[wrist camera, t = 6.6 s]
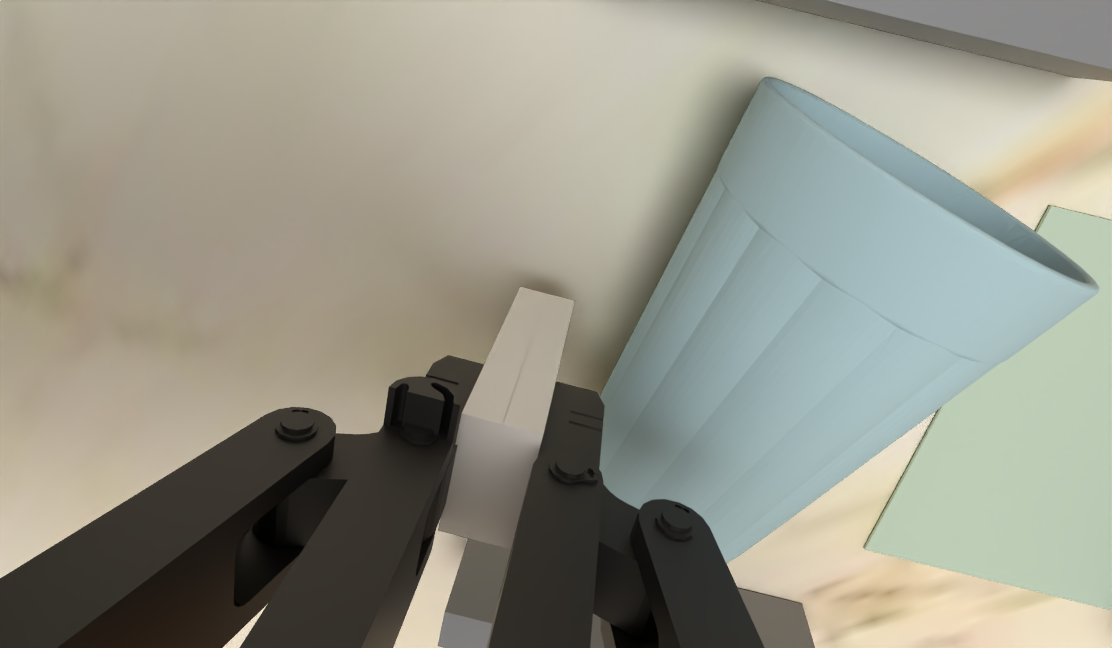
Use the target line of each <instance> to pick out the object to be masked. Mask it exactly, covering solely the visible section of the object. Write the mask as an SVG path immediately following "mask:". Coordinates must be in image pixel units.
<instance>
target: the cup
mask: <svg viewBox="0 0 1112 648" xmlns="http://www.w3.org/2000/svg"><path fill="white" fill-rule="evenodd" d="M1098 292H1099V286H1098V284H1097V283H1096V281H1095V280H1094V279H1093V278H1092V277H1091V276H1090V275H1089V274H1088V273H1087V272H1086V271H1085V270H1084V269H1083V268H1082V267H1080V266H1079V265H1078V264H1077V263H1075V262H1074V261H1073V260H1072V259H1070V258H1069V257H1068V256H1067V255H1065V254H1064V253H1063V252H1062V251H1060V250H1059V249H1058V248H1056V247H1055V246H1054V245H1052V244H1051V243H1050V242H1048V241H1047V240H1046V239H1044V238H1043V237H1042V236H1040V235H1039V234H1037V233H1036V232H1035V231H1033V230H1032V229H1031V228H1029V227H1028V226H1026V225H1025V224H1023V223H1022V222H1020V221H1019V220H1018V219H1016V218H1015V217H1013V216H1012V215H1010V214H1009V213H1007V212H1006V211H1005V210H1003V209H1002V208H1000V207H999V206H997V205H996V204H994V203H993V202H991V201H990V200H988V199H987V198H985V197H984V196H982V195H981V194H979V193H978V192H976V191H975V190H973V189H971V188H970V187H968V186H967V185H965V184H964V183H962V182H961V181H959V180H958V179H956V178H955V177H953V176H951V175H950V174H948V173H947V172H945V171H944V170H942V169H940V168H939V167H937V166H936V165H934V164H932V163H931V162H929V161H928V160H926V159H924V158H923V157H921V156H920V155H918V154H916V153H915V152H913V151H911V150H910V149H908V148H906V147H905V146H903V145H901V144H900V143H898V142H896V141H895V140H893V139H892V138H890V137H888V136H886V135H885V134H883V133H881V132H880V131H878V130H876V129H874V128H873V127H871V126H869V125H867V124H866V123H864V122H862V121H860V120H859V119H857V118H855V117H854V116H852V115H850V114H848V113H847V112H845V111H843V110H841V109H839V108H837V107H836V106H834V105H832V104H830V103H828V102H826V101H824V100H822V99H820V98H818V97H817V96H815V95H813V94H811V93H809V92H807V91H805V90H803V89H800V88H798V87H796V86H794V85H792V84H789V83H787V82H784V81H782V80H779V79H776V78H772V77H766V78H763V79H762V81H761V83H760V84H759V86H758V88H757V90H756V92H755V94H754V96H753V98H752V100H751V102H750V104H749V106H748V108H747V110H746V112H745V113H744V115H743V117H742V119H741V121H740V123H739V125H738V127H737V129H736V131H735V133H734V135H733V137H732V139H731V141H730V143H729V145H728V146H727V148H726V150H725V152H724V154H723V156H722V158H721V160H720V162H719V165H718V169H717V171H716V173H715V175H714V176H713V178H712V180H711V182H710V184H709V186H708V188H707V190H706V192H705V194H704V196H703V198H702V200H701V202H700V203H699V205H698V207H697V209H696V211H695V213H694V215H693V217H692V219H691V221H690V223H689V225H688V227H687V229H686V231H685V232H684V234H683V236H682V238H681V240H680V242H679V244H678V246H677V248H676V250H675V252H674V254H673V256H672V258H671V260H670V261H669V263H668V265H667V267H666V269H665V271H664V273H663V275H662V277H661V279H660V281H659V283H658V285H657V287H656V288H655V290H654V292H653V294H652V296H651V298H650V300H649V302H648V304H647V306H646V308H645V310H644V312H643V314H642V316H641V317H640V319H639V321H638V323H637V325H636V327H635V329H634V331H633V333H632V335H631V337H630V339H629V341H628V343H627V344H626V346H625V348H624V350H623V352H622V354H621V356H620V358H619V360H618V362H617V364H616V366H615V368H614V370H613V372H612V373H611V375H610V377H609V379H608V381H607V383H606V385H605V387H604V389H603V391H602V393H601V395H600V398H601V400H602V402H603V404H604V405H605V409H604V419H603V430H602V443H601V455H600V466H599V470H600V471H601V472H602V477H603V484H604V485H605V486H606V488H607V489H608V490H609V491H610V492H611V493H612V494H614V495H615V496H616V497H617V498H619V499H621V500H622V501H624V502H626V503H627V504H629V505H631V506H633V507H635V508H637V509H639V510H640V508H641V507H642V505H643V504H644V503H646V502H648V501H650V500H653V499H667V500H671V501H676V502H679V503H681V504H683V505H685V506H687V507H689V508H691V509H693V510H694V511H695V512H696V513H698V514H699V515H700V516H701V517H703V519H704V520H705V522H706V523H707V524H708V526H709V527H710V529H711V531H712V533H713V536H714V538H715V540H716V542H717V544H718V547H719V549H720V551H721V553H722V555H723V558H724V560H725V562H726V564H727V563H728V562H730V561H731V560H733V559H735V558H736V557H738V556H739V555H741V554H742V553H744V552H745V551H747V550H748V549H749V548H751V547H752V546H753V545H755V544H756V543H758V542H759V541H760V540H762V539H763V538H764V537H766V536H767V535H769V534H770V533H771V532H773V531H774V530H775V529H777V528H778V527H780V526H781V525H782V524H784V523H785V522H786V521H788V520H789V519H790V518H792V517H793V516H795V515H796V514H797V513H799V512H800V511H801V510H803V509H804V508H805V507H807V506H808V505H809V504H811V503H812V502H813V501H815V500H816V499H817V498H819V497H820V496H822V495H823V494H824V493H826V492H827V491H828V490H830V489H831V488H832V487H834V486H835V485H836V484H838V483H839V482H840V481H842V480H843V479H844V478H846V477H847V476H849V475H850V474H851V473H853V472H854V471H855V470H857V469H858V468H859V467H861V466H862V465H863V464H865V463H866V462H867V461H869V460H870V459H871V458H873V457H874V456H876V455H877V454H878V453H880V452H881V451H882V450H884V449H885V448H886V447H888V446H889V445H890V444H892V443H893V442H894V441H896V440H897V439H899V438H900V437H901V436H903V435H904V434H905V433H907V432H908V431H909V430H911V429H912V428H913V427H915V426H916V425H917V424H919V423H920V422H921V421H923V420H924V419H926V418H927V417H928V416H930V415H931V414H932V413H934V412H935V411H936V410H938V409H939V408H940V407H942V406H943V405H944V404H946V403H947V402H948V401H950V400H951V399H953V398H954V397H955V396H957V395H958V394H959V393H961V392H962V391H963V390H965V389H966V388H967V387H969V386H970V385H971V384H973V383H974V382H975V381H977V380H978V379H980V378H981V377H982V376H984V375H985V374H986V373H988V372H989V371H990V370H992V369H993V368H994V367H996V366H997V365H998V364H1000V363H1002V362H1004V361H1007V360H1008V359H1009V358H1011V357H1012V356H1013V355H1015V354H1016V353H1018V352H1019V351H1020V350H1022V349H1023V348H1024V347H1026V346H1027V345H1029V344H1030V343H1031V342H1033V341H1034V340H1035V339H1037V338H1038V337H1039V336H1041V335H1042V334H1043V333H1045V332H1046V331H1048V330H1049V329H1050V328H1052V327H1053V326H1054V325H1056V324H1057V323H1058V322H1060V321H1061V320H1063V319H1064V318H1065V317H1067V316H1068V315H1069V314H1071V313H1072V312H1073V311H1075V310H1076V309H1078V308H1079V307H1080V306H1082V305H1083V304H1084V303H1086V302H1087V301H1088V300H1090V299H1091V298H1092V297H1094V296H1095V295H1096V294H1097V293H1098Z"/></svg>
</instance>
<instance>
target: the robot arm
mask: <svg viewBox="0 0 1112 648" xmlns="http://www.w3.org/2000/svg"><path fill="white" fill-rule="evenodd" d="M574 302H575V301H574V300H570V299H566V298H562V297H558V296H554V295H550V294H546V293H543V292H539V291H535V290H531V289H527V288H523V287H520V289H519V291H518V293H517V295H516V297H515V299H514V302H513V304H512V306H511V308H510V310H509V312H508V314H507V317H506V319H505V321H504V323H503V325H502V327H501V330H500V332H499V334H498V336H497V338H496V340H495V343H494V345H493V347H492V349H491V351H490V353H489V355H488V358H487V360H486V362H485V364H480V363H476V362H472V361H468V360H465V359H461V358H457V357H453V356H449V355H448V356H446V357H444V358H442V359H441V360H439V361H437V362H435V363H433V365H432V366H431V368H430V370H429V371H428V373H427V375H426V377H407V378H404V379H400V380H397V381H395V382H394V383H393V384H392V385H391V386H389V391H388V397H387V404H386V411H385V418H384V425H383V426H382V428H381V429H380V431H379V432H377V433H371V434H335V433H336V425H335V423H334V422H333V420H332V419H331V418H330V417H329V416H327V415H326V414H324V413H322V412H320V411H317V410H313V409H310V408H300V407H290V408H284V409H278V410H276V411H273V412H271V413H268V414H266V415H264V416H263V417H261V418H260V419H258V420H256V421H255V422H253V423H251V424H250V425H248V426H247V427H245V428H243V429H242V430H240V431H239V432H237V433H235V434H234V435H232V436H230V437H229V438H227V439H226V440H224V441H222V442H221V443H219V444H217V445H216V446H214V447H213V448H211V449H209V450H208V451H206V452H204V453H203V454H201V455H200V456H198V457H196V458H195V459H193V460H192V461H190V462H188V463H187V464H185V465H183V466H182V467H180V468H179V469H177V470H175V471H174V472H172V473H170V474H169V475H167V476H166V477H164V478H162V479H161V480H159V481H158V482H156V483H154V484H153V485H151V486H149V487H148V488H146V489H145V490H143V491H141V492H140V493H138V494H136V495H135V496H133V497H132V498H130V499H128V500H127V501H125V502H123V503H122V504H120V505H119V506H117V507H115V508H114V509H112V510H111V511H109V512H107V513H106V514H104V515H102V516H101V517H99V518H98V519H96V520H94V521H93V522H91V523H89V524H88V525H86V526H85V527H83V528H81V529H80V530H78V531H77V532H75V533H73V534H72V535H70V536H68V537H67V538H65V539H64V540H62V541H60V542H59V543H57V544H55V545H54V546H52V547H51V548H49V549H47V550H46V551H44V552H42V553H41V554H39V555H38V556H36V557H34V558H33V559H31V560H30V561H28V562H26V563H25V564H23V565H21V566H20V567H18V568H17V569H15V570H13V571H12V572H10V573H8V574H7V575H5V576H4V577H2V578H0V648H222V647H224V646H225V645H226V644H227V643H228V642H229V641H230V640H231V639H232V638H233V637H234V636H235V635H236V634H237V633H238V632H239V631H240V630H241V629H242V628H243V627H244V626H245V625H246V624H247V623H248V622H249V621H250V620H251V619H252V618H253V617H254V616H256V615H257V614H258V613H259V612H260V611H261V610H262V609H263V608H264V607H265V606H266V605H267V604H268V605H267V606H266V608H265V609H264V611H263V612H262V614H261V616H260V617H259V619H258V620H257V622H256V623H255V625H254V626H253V628H252V629H251V631H250V633H249V634H248V636H247V637H246V639H245V640H244V642H243V643H242V645H241V647H240V648H393V646H394V644H395V641H396V639H397V636H398V634H399V631H400V629H401V626H402V624H403V621H404V619H405V616H406V613H407V611H408V608H409V606H410V603H411V601H412V598H413V596H414V593H415V591H416V588H417V586H418V583H419V581H420V578H421V575H422V573H423V570H424V568H425V565H426V563H427V560H428V558H429V555H430V553H431V550H432V545H433V540H434V535H435V530H436V527H437V525H438V523H439V520H440V523H439V528H438V530H439V531H442V532H446V533H450V534H454V535H458V536H461V537H465V538H469V539H473V540H477V541H481V542H484V543H488V544H492V545H496V546H500V547H504V548H507V549H511V552H510V556H509V559H508V563H507V567H506V571H505V575H504V578H503V582H502V586H501V590H500V594H499V597H498V603H497V607H496V611H495V615H494V619H493V623H492V627H491V631H490V635H489V639H488V643H487V647H486V648H590V645H591V632H592V620H593V614H595V615H597V616H598V617H600V618H601V625H600V629H601V634H602V639H603V643H604V648H765V647H764V645H763V643H762V641H761V639H760V636H759V634H758V632H757V630H756V628H755V625H754V623H753V621H752V619H751V617H750V614H749V612H748V610H747V608H746V606H745V604H744V601H743V599H742V597H741V595H740V593H739V590H738V588H737V586H736V584H735V582H734V579H733V577H732V575H731V573H730V571H729V568H728V566H727V564H726V562H725V560H724V558H723V555H722V553H721V551H720V549H719V547H718V544H717V542H716V540H715V538H714V536H713V533H712V531H711V529H710V527H709V526H708V524H707V523H706V522H705V520H704V519H703V517H701V516H700V515H699V514H698V513H696V512H695V511H694V510H693V509H691V508H689V507H687V506H685V505H683V504H681V503H679V502H676V501H671V500H667V499H653V500H650V501H648V502H646V503H644V504H643V505H642V507H641V508H640V510H639V509H637V508H635V507H633V506H631V505H629V504H627V503H626V502H624V501H622V500H621V499H619V498H617V497H616V496H615V495H614V494H612V493H611V492H610V491H609V490H608V489H607V488H606V486H605V485H604V484H603V477H602V472H601V471H600V470H599V466H600V455H601V443H602V430H603V419H604V409H605V405H604V404H603V402H602V400H601V398H600V397H599V395H598V393H597V392H595V391H591V390H587V389H583V388H579V387H575V386H571V385H567V384H564V383H560V382H556V379H557V374H558V370H559V366H560V362H561V357H562V353H563V349H564V344H565V340H566V336H567V332H568V327H569V323H570V319H571V315H572V310H573V306H574Z"/></svg>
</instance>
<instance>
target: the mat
mask: <svg viewBox="0 0 1112 648" xmlns="http://www.w3.org/2000/svg"><path fill="white" fill-rule="evenodd" d="M1035 232H1036V233H1037V234H1039V235H1040V236H1042V237H1043V238H1044V239H1046V240H1047V241H1048V242H1050V243H1051V244H1052V245H1054V246H1055V247H1056V248H1058V249H1059V250H1060V251H1062V252H1063V253H1064V254H1065V255H1067V256H1068V257H1069V258H1070V259H1072V260H1073V261H1074V262H1075V263H1077V264H1078V265H1079V266H1080V267H1082V268H1083V269H1084V270H1085V271H1086V272H1087V273H1088V274H1089V275H1090V276H1091V277H1092V278H1093V279H1094V280H1095V281H1096V283H1097V284H1098V286H1099V292H1098V293H1097V294H1096V295H1095V296H1094V297H1092V298H1091V299H1090V300H1088V301H1087V302H1086V303H1084V304H1083V305H1082V306H1080V307H1079V308H1078V309H1076V310H1075V311H1073V312H1072V313H1071V314H1069V315H1068V316H1067V317H1065V318H1064V319H1063V320H1061V321H1060V322H1058V323H1057V324H1056V325H1054V326H1053V327H1052V328H1050V329H1049V330H1048V331H1046V332H1045V333H1043V334H1042V335H1041V336H1039V337H1038V338H1037V339H1035V340H1034V341H1033V342H1031V343H1030V344H1029V345H1027V346H1026V347H1024V348H1023V349H1022V350H1020V351H1019V352H1018V353H1016V354H1015V355H1013V356H1012V357H1011V358H1009V359H1008V360H1007V361H1004V362H1002V363H1000V364H998V365H997V366H996V367H994V368H993V369H992V370H990V371H989V372H988V373H986V374H985V375H984V376H982V377H981V378H980V379H978V380H977V381H975V382H974V383H973V384H971V385H970V386H969V387H967V388H966V389H965V390H963V391H962V392H961V393H959V394H958V395H957V396H955V397H954V398H953V399H951V400H950V401H948V402H947V403H946V404H944V405H943V406H942V407H940V408H939V410H938V412H937V413H936V415H935V417H934V419H933V421H932V423H931V424H930V426H929V428H928V430H927V432H926V434H925V435H924V437H923V439H922V441H921V443H920V445H919V447H918V448H917V450H916V452H915V454H914V456H913V458H912V459H911V461H910V463H909V465H908V467H907V469H906V471H905V472H904V474H903V476H902V478H901V480H900V482H899V483H898V485H897V487H896V489H895V491H894V493H893V494H892V496H891V498H890V500H889V502H888V504H887V506H886V507H885V509H884V511H883V513H882V515H881V517H880V518H879V520H878V522H877V524H876V526H875V528H874V530H873V531H872V533H871V535H870V537H869V539H868V541H867V542H866V544H865V546H864V549H865V550H868V551H873V552H877V553H881V554H885V555H889V556H893V557H897V558H901V559H905V560H909V561H913V562H917V563H921V564H925V565H929V566H933V567H937V568H942V569H946V570H950V571H954V572H958V573H962V574H966V575H970V576H974V577H978V578H982V579H986V580H990V581H994V582H998V583H1002V584H1006V585H1010V586H1015V587H1019V588H1023V589H1027V590H1031V591H1035V592H1039V593H1043V594H1047V595H1051V596H1055V597H1059V598H1063V599H1067V600H1071V601H1075V602H1079V603H1084V604H1088V605H1092V606H1096V607H1100V608H1104V609H1108V610H1112V220H1108V219H1104V218H1100V217H1096V216H1092V215H1088V214H1084V213H1080V212H1076V211H1071V210H1067V209H1063V208H1059V207H1055V206H1051V205H1049V207H1048V209H1047V211H1046V212H1045V214H1044V216H1043V218H1042V220H1041V222H1040V223H1039V225H1038V227H1037V229H1036V231H1035Z"/></svg>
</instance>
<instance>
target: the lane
mask: <svg viewBox="0 0 1112 648" xmlns="http://www.w3.org/2000/svg"><path fill="white" fill-rule="evenodd" d="M757 1H761V2H765V3H769V4H774V5H778V6H782V7H786V8H790V9H794V10H798V11H802V12H807V13H811V14H815V15H819V16H823V17H827V18H831V19H835V20H839V21H844V22H848V23H852V24H856V25H860V26H864V27H868V28H872V29H877V30H881V31H885V32H889V33H893V34H897V35H901V36H905V37H910V38H914V39H918V40H922V41H926V42H930V43H934V44H938V45H943V46H947V47H951V48H955V49H959V50H963V51H967V52H971V53H976V54H980V55H984V56H988V57H992V58H996V59H1000V60H1004V61H1009V62H1013V63H1017V64H1021V65H1025V66H1029V67H1033V68H1037V69H1041V70H1046V71H1050V72H1054V73H1058V74H1062V75H1066V76H1070V77H1076V78H1085V79H1094V80H1103V81H1112V0H757ZM510 552H511V549H507V548H504V547H500V546H496V545H492V544H488V543H484V542H481V541H477V540H473V539H469V538H468V541H467V544H466V547H465V550H464V554H463V557H462V560H461V563H460V566H459V569H458V572H457V575H456V579H455V582H454V585H453V588H452V591H451V594H450V597H449V600H448V604H447V607H446V610H445V613H444V618H443V623H442V628H441V633H440V638H439V642H438V646H440V647H444V648H486V647H487V643H488V639H489V635H490V631H491V627H492V623H493V619H494V615H495V611H496V607H497V603H498V597H499V594H500V590H501V586H502V582H503V578H504V575H505V571H506V567H507V563H508V559H509V556H510ZM738 590H739V593H740V595H741V597H742V599H743V601H744V604H745V606H746V608H747V610H748V612H749V614H750V617H751V619H752V621H753V623H754V625H755V628H756V630H757V632H758V634H759V636H760V639H761V641H762V643H763V645H764V647H765V648H815V646H814V643H813V639H812V636H811V633H810V629H809V626H808V622H807V619H806V616H805V612H804V609H803V606H802V604H800V603H796V602H792V601H788V600H784V599H780V598H776V597H772V596H768V595H764V594H760V593H756V592H752V591H748V590H744V589H740V588H738ZM600 625H601V618H600V617H598V616H597V615H595V614H593V620H592V632H591V645H590V648H604V643H603V639H602V634H601V629H600Z"/></svg>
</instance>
